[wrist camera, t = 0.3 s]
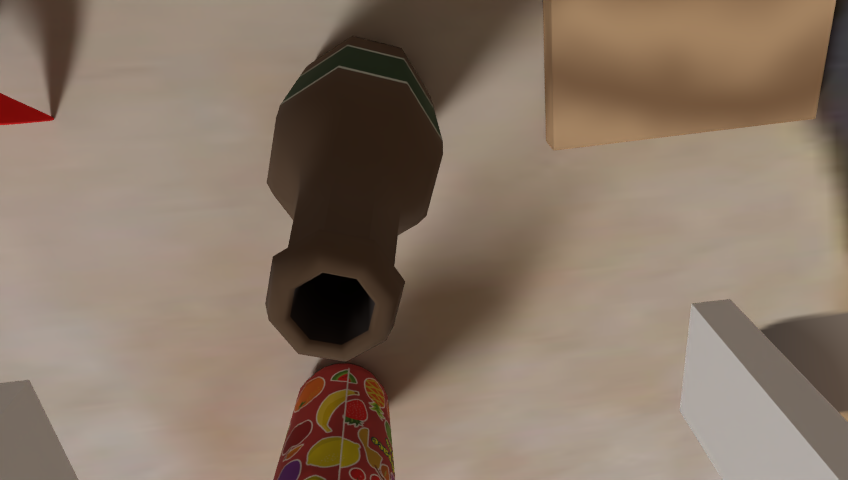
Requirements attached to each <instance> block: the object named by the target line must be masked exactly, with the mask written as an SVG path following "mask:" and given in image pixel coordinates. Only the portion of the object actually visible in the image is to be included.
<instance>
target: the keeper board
mask: <svg viewBox="0 0 848 480" xmlns="http://www.w3.org/2000/svg"><path fill="white" fill-rule="evenodd" d="M835 4H836V0H543V22H544V68H545V113H546V141H547V143H548V144H549V145H550V146H551V148H552V149H553V150H562V149H570V148H578V147H586V146H594V145H603V144H611V143H619V142H627V141H635V140H644V139H652V138H660V137H668V136H676V135H685V134H693V133H701V132H709V131H717V130H726V129H734V128H742V127H750V126H758V125H767V124H775V123H783V122H791V121H799V120H808V119H815V117H816V111H817V106H818V100H819V94H820V89H821V83H822V77H823V72H824V66H825V60H826V55H827V49H828V43H829V38H830V32H831V26H832V21H833V15H834V9H835Z"/></svg>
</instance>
